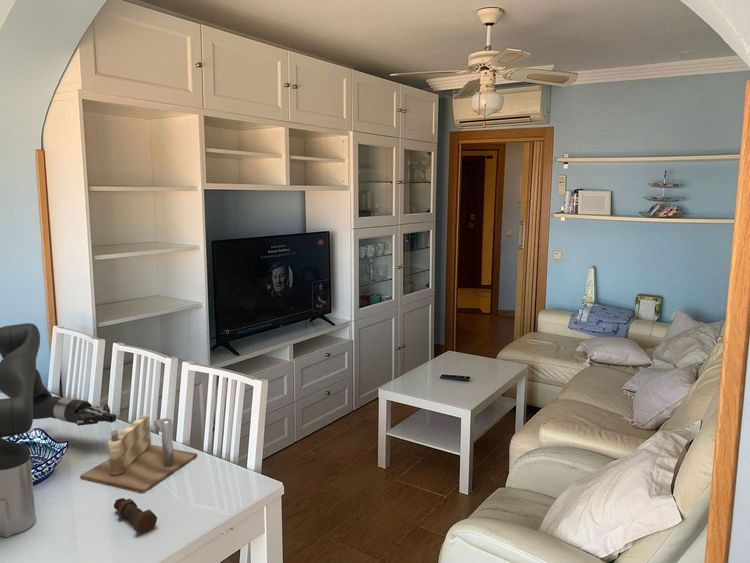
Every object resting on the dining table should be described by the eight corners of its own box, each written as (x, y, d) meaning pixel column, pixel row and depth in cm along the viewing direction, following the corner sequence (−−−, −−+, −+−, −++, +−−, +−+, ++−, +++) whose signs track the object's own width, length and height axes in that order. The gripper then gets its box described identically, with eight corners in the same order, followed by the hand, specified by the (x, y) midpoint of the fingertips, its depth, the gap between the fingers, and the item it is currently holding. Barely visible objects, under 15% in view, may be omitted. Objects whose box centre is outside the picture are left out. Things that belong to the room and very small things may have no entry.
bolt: (123, 515, 156) (150, 536, 146) (105, 513, 152) (133, 534, 142) (132, 493, 157) (160, 512, 147) (115, 490, 153) (143, 510, 144)
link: (119, 475, 170) (117, 443, 169) (108, 474, 170) (105, 442, 169) (152, 444, 191) (151, 415, 189) (142, 443, 191) (140, 414, 189)
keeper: (163, 468, 175) (160, 424, 173) (156, 458, 182) (153, 415, 179) (176, 464, 178) (174, 421, 175) (169, 454, 184) (167, 412, 182)
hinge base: (143, 493, 163) (140, 446, 161) (80, 478, 171) (76, 433, 168) (197, 456, 185) (195, 414, 183) (139, 444, 193) (136, 404, 191)
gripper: (54, 407, 185) (97, 415, 179) (88, 393, 197) (129, 400, 191) (56, 429, 186) (99, 438, 180) (89, 413, 198) (130, 421, 193)
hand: (114, 418), depth 186 cm, fingers closed
